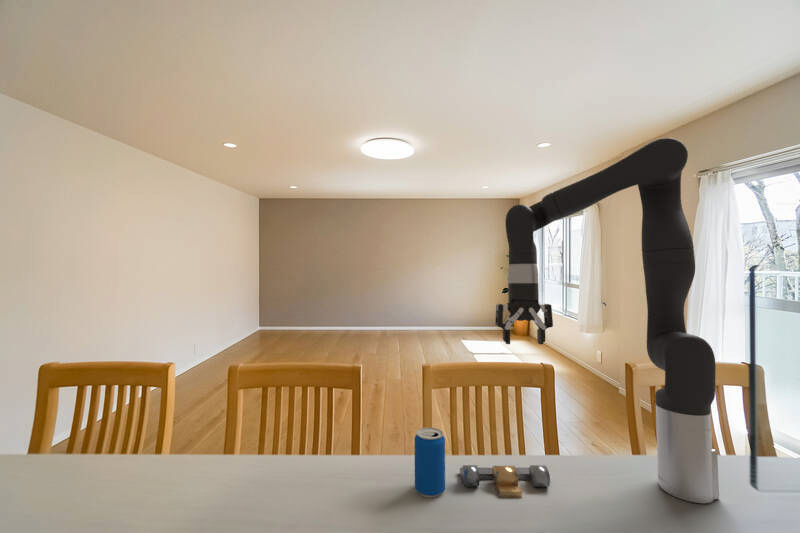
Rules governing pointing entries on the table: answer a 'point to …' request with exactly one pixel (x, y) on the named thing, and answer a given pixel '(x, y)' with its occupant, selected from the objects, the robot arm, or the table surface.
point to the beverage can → (430, 462)
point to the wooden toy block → (506, 481)
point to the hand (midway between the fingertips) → (524, 343)
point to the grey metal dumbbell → (533, 473)
